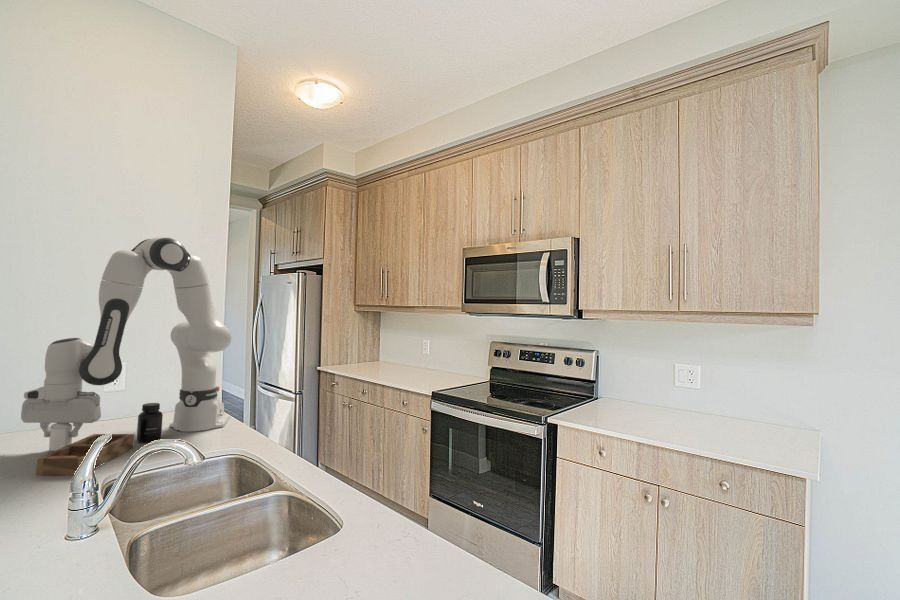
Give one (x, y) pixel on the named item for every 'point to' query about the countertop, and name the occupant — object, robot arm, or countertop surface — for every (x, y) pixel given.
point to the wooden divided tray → (82, 454)
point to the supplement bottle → (149, 423)
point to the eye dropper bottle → (59, 436)
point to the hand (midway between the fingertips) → (61, 436)
